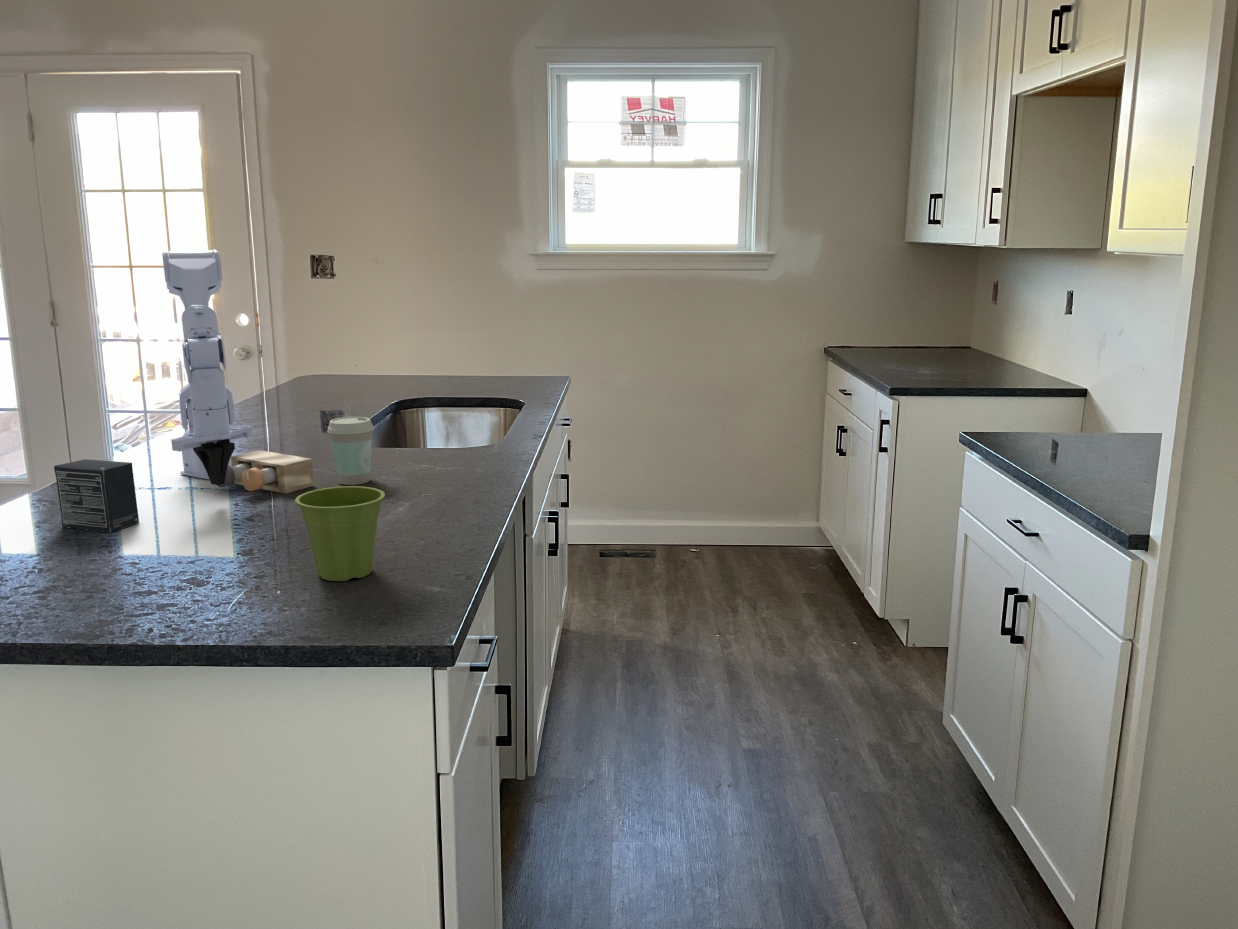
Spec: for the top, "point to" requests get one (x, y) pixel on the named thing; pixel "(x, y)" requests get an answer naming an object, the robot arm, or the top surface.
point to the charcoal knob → (235, 473)
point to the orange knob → (258, 477)
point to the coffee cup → (351, 448)
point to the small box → (97, 495)
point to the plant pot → (342, 529)
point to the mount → (279, 469)
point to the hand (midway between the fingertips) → (217, 483)
